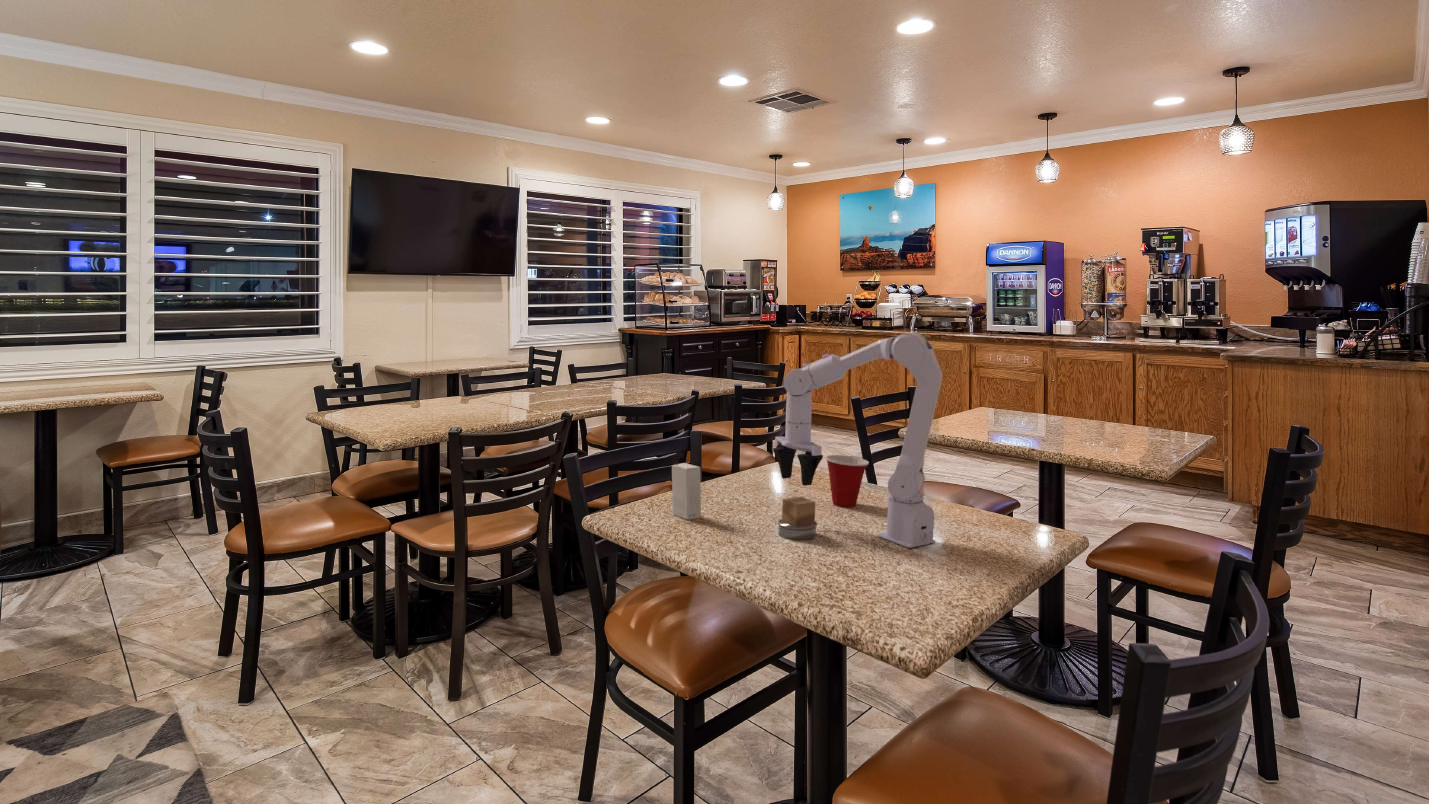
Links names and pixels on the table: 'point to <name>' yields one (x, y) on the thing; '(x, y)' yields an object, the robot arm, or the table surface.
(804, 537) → the grey metal cylinder
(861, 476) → the plastic cup
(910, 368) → the robot arm
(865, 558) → the table surface
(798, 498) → the walnut block
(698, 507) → the skincare box
